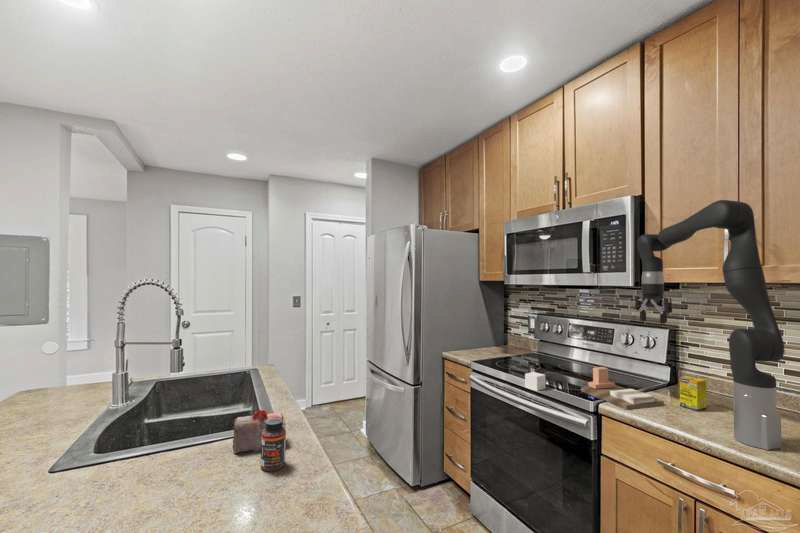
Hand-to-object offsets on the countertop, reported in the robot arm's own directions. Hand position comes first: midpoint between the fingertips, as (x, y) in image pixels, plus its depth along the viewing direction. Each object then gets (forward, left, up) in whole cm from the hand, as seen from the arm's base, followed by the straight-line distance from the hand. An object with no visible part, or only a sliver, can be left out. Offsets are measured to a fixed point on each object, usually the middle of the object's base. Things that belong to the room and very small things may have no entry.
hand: (652, 322), depth 150 cm
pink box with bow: (-4, +150, -30) cm, 154 cm away
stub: (+11, +15, -28) cm, 34 cm away
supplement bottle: (-17, +146, -30) cm, 150 cm away
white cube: (+22, +40, -30) cm, 55 cm away
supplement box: (-14, -2, -30) cm, 33 cm away
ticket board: (+2, +15, -30) cm, 34 cm away
